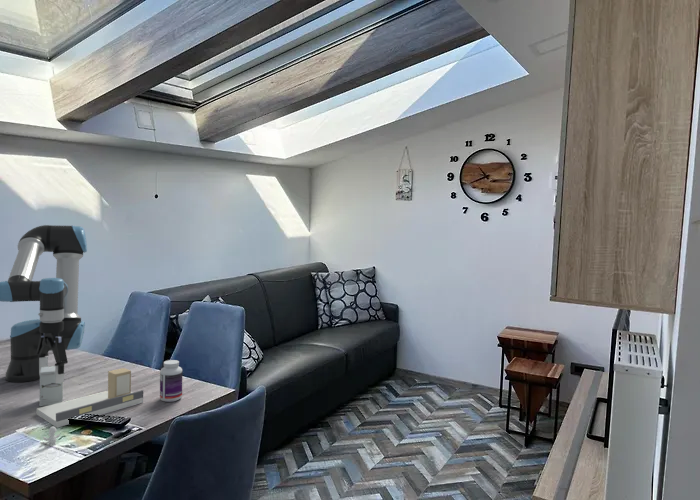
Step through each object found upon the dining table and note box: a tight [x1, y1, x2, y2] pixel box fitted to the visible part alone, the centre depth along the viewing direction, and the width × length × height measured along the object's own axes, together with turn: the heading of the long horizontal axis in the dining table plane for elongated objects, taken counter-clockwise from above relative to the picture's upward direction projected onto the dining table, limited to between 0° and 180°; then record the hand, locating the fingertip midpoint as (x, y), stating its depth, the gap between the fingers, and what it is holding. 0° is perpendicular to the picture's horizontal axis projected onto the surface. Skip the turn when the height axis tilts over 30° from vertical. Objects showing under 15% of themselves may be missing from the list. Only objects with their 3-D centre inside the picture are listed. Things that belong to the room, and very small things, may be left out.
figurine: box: [40, 425, 62, 447], centre depth 150 cm, size 8×8×6 cm
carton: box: [107, 367, 132, 399], centre depth 184 cm, size 5×6×10 cm
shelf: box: [36, 389, 144, 429], centre depth 178 cm, size 16×30×5 cm, turn 143°
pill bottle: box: [159, 359, 183, 403], centre depth 190 cm, size 8×8×14 cm
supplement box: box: [38, 365, 64, 407], centre depth 182 cm, size 7×7×13 cm
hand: (51, 378), depth 182 cm, fingers open, 13 cm apart
